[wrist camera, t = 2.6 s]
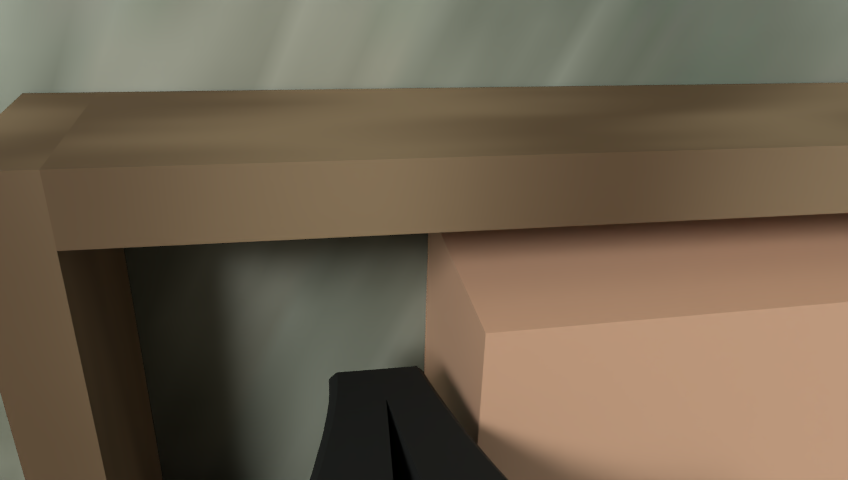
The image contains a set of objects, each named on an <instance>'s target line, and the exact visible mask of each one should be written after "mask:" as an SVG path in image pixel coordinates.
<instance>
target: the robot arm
mask: <svg viewBox="0 0 848 480" xmlns="http://www.w3.org/2000/svg"><path fill="white" fill-rule="evenodd" d="M310 480H508V479H507V478H506V477H505V476H504V474H503V473H502V472H501V471H500V470H499V469H498V468H497V467H496V466H495V465H494V463H493V462H492V461H491V460H490V459H489V458H488V456H487V455H486V454H485V453H484V452H483V450H482V449H481V448H480V447H479V446H478V445H477V443H476V442H475V441H474V440H473V439H472V438H471V436H470V435H469V434H468V433H467V431H466V430H465V429H464V428H463V426H462V425H461V424H460V423H459V421H458V420H457V419H456V417H455V416H454V415H453V413H452V412H451V411H450V409H449V408H448V407H447V406H446V404H445V403H444V401H443V400H442V399H441V397H440V396H439V394H438V393H437V392H436V390H435V389H434V387H433V386H432V384H431V383H430V381H429V380H428V378H427V377H426V375H425V374H424V372H423V371H422V370H421V369H419V368H418V367H417V366H413V367H401V368H388V369H376V370H363V371H351V372H338V373H336V374H335V375H333V376H332V377H331V378H330V379H329V405H328V412H327V418H326V422H325V427H324V432H323V436H322V440H321V443H320V447H319V450H318V454H317V457H316V461H315V464H314V468H313V471H312V475H311V478H310Z"/></svg>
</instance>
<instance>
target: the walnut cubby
mask: <svg viewBox="0 0 848 480" xmlns="http://www.w3.org/2000/svg"><path fill="white" fill-rule="evenodd" d="M834 213H848V83H788V84H711V85H633V86H556V87H479V88H402V89H325V90H248V91H171V92H94V93H22V94H21V95H20V96H19V97H18V98H17V99H16V100H15V101H14V102H13V103H12V104H11V105H10V106H9V107H7V108H6V109H5V110H4V111H3V112H2V113H1V114H0V393H1V396H2V400H3V403H4V407H5V410H6V414H7V417H8V421H9V424H10V428H11V431H12V435H13V438H14V442H15V445H16V449H17V452H18V456H19V459H20V463H21V466H22V470H23V473H24V477H25V480H163V478H162V472H161V466H160V460H159V454H158V448H157V442H156V437H155V431H154V425H153V419H152V413H151V407H150V401H149V395H148V389H147V383H146V377H145V371H144V366H143V360H142V354H141V348H140V342H139V336H138V330H137V324H136V318H135V312H134V306H133V301H132V295H131V289H130V283H129V277H128V271H127V265H126V259H125V253H124V248H129V247H150V246H171V245H191V244H212V243H233V242H254V241H274V240H295V239H316V238H336V237H357V236H378V235H399V234H419V233H440V232H461V231H482V230H502V229H523V228H544V227H564V226H585V225H606V224H627V223H647V222H668V221H689V220H709V219H730V218H751V217H772V216H792V215H813V214H834Z"/></svg>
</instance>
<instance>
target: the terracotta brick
mask: <svg viewBox="0 0 848 480" xmlns="http://www.w3.org/2000/svg"><path fill="white" fill-rule="evenodd" d="M424 374H425V375H426V377H427V378H428V380H429V381H430V383H431V384H432V386H433V387H434V389H435V390H436V392H437V393H438V394H439V396H440V397H441V399H442V400H443V401H444V403H445V404H446V406H447V407H448V408H449V409H450V411H451V412H452V413H453V415H454V416H455V417H456V419H457V420H458V421H459V423H460V424H461V425H462V426H463V428H464V429H465V430H466V431H467V433H468V434H469V435H470V436H471V438H472V439H473V440H474V441H475V442H476V443H477V445H478V446H479V447H480V448H481V449H482V450H483V452H484V453H485V454H486V455H487V456H488V458H489V459H490V460H491V461H492V462H493V463H494V465H495V466H496V467H497V468H498V469H499V470H500V471H501V472H502V473H503V474H504V476H505V477H506V478H507V479H508V480H848V213H834V214H813V215H792V216H772V217H751V218H730V219H709V220H689V221H668V222H647V223H627V224H606V225H585V226H564V227H544V228H523V229H502V230H482V231H461V232H440V233H428V261H427V296H426V332H425V367H424Z"/></svg>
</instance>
